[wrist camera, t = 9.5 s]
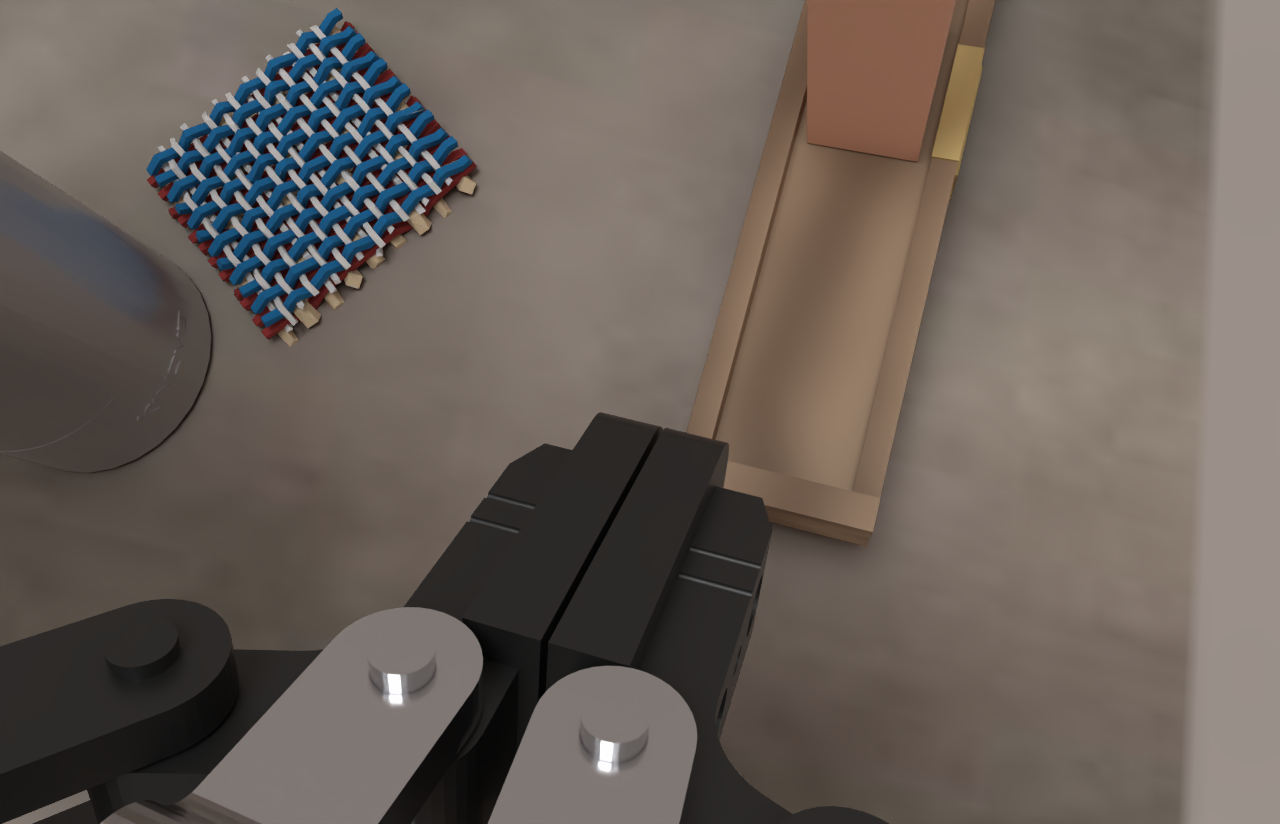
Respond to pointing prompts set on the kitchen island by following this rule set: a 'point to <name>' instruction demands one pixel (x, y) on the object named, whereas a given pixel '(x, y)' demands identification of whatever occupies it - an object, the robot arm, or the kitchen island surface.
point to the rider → (874, 72)
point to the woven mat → (309, 176)
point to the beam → (832, 301)
